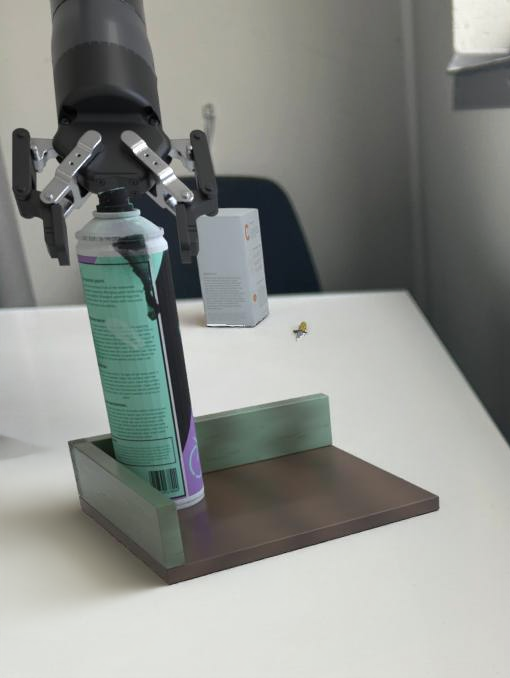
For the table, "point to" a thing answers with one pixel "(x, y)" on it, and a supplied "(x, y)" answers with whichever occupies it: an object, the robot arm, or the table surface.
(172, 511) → the corner board
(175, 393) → the spray can
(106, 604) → the table surface
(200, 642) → the table surface
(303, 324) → the dagger
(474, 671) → the table surface
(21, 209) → the robot arm
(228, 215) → the small box
